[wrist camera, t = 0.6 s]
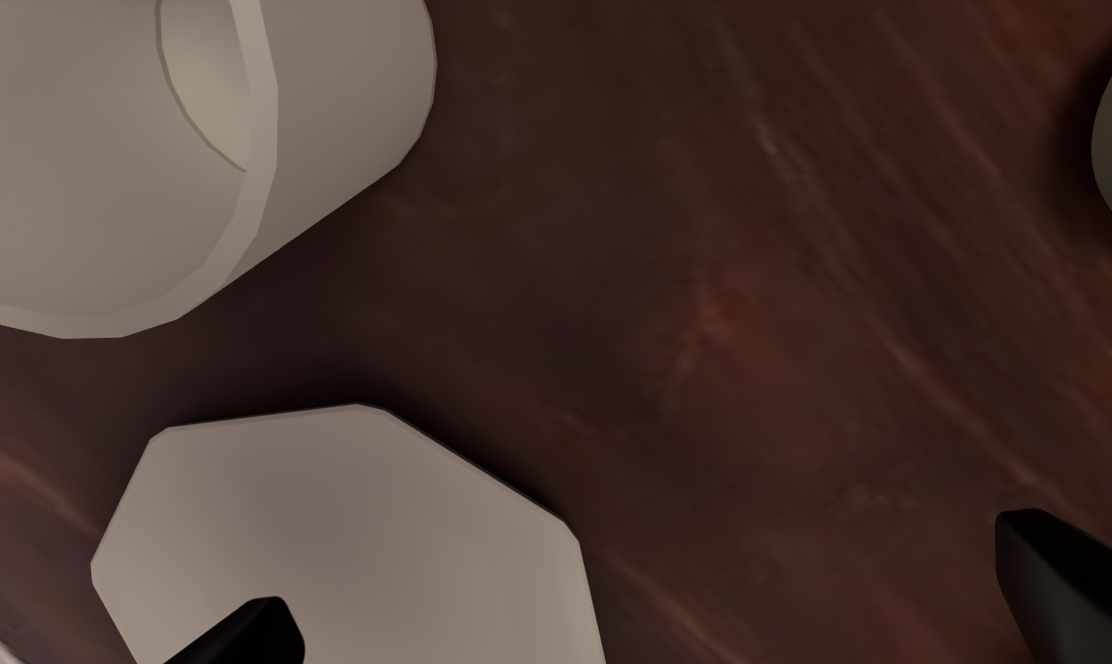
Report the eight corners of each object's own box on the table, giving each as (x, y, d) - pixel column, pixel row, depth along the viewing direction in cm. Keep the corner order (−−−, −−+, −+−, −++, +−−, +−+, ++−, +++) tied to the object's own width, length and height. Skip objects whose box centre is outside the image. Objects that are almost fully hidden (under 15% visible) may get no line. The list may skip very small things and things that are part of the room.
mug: (510, 128, 20) (392, 208, 10) (271, 253, 22) (1, 409, 13) (297, -297, 17) (-158, -739, 7) (43, -96, 19) (-546, -228, 10)
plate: (233, 775, 33) (215, 807, 32) (46, 427, 26) (13, 448, 25) (636, 767, 30) (636, 802, 29) (547, 362, 23) (541, 383, 21)
